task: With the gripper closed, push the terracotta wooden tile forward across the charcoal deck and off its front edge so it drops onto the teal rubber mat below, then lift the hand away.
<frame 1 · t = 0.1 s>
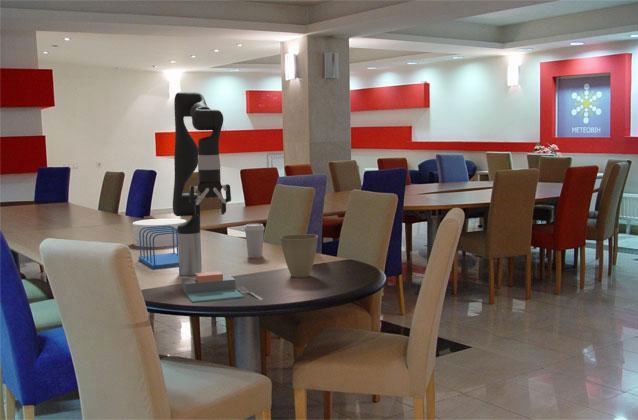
hand: (210, 215, 241), 29 cm above the table, tool pointing down, fingers open, 8 cm apart
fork: (253, 297, 246), on the table
plant pot: (299, 276, 279), on the table
coffee cup: (255, 257, 324), on the table
file sorter: (164, 263, 312), on the table
tile: (209, 276, 254), point 5 cm above the table, touching deck
mat: (214, 296, 245), on the table
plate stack: (160, 243, 370), on the table
deck: (208, 289, 256), on the table
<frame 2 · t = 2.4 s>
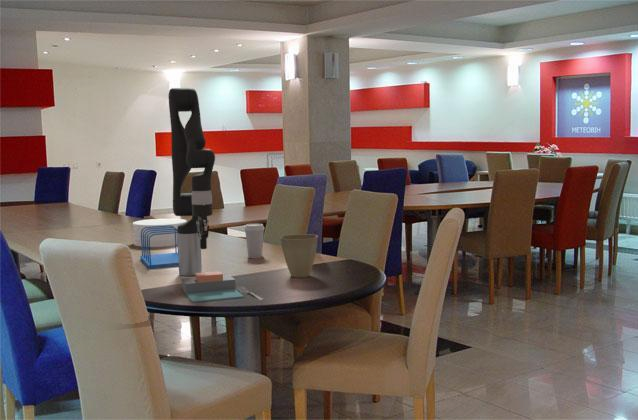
hand: (203, 248, 260), 14 cm above the table, tool pointing down, fingers closed
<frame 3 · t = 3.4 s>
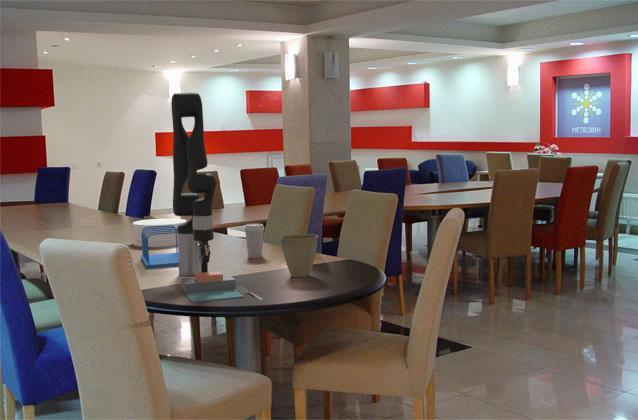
hand: (204, 273, 261), 5 cm above the table, tool pointing down, fingers closed
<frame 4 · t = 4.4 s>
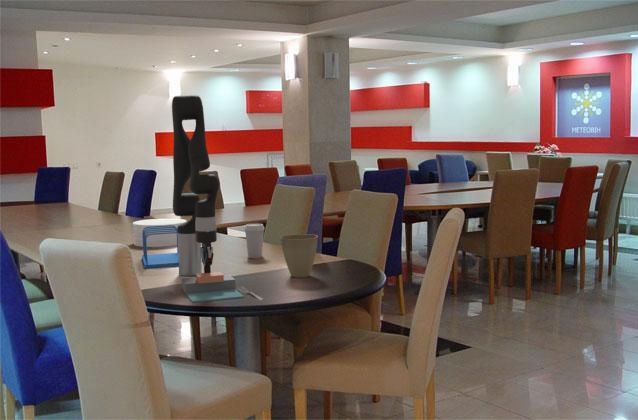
hand: (207, 275, 256), 5 cm above the table, tool pointing down, fingers closed
tile: (209, 277, 252), point 5 cm above the table, touching deck, gripper
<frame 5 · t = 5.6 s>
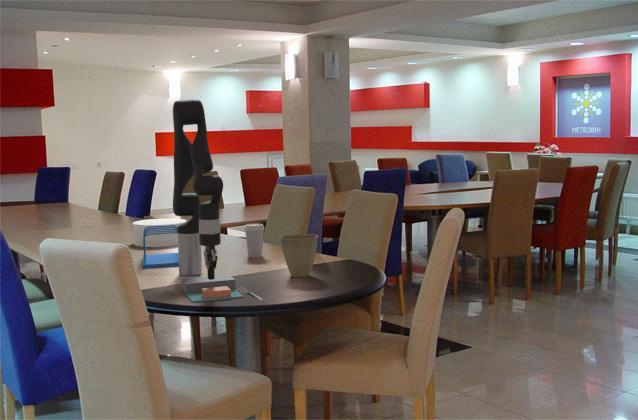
hand: (211, 279, 250), 5 cm above the table, tool pointing down, fingers closed
tile: (216, 292, 244), point 2 cm above the table, tilted 180°, touching mat
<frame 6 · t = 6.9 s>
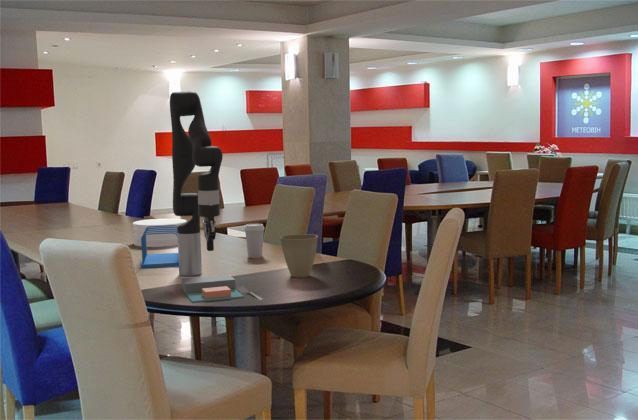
hand: (210, 250, 250), 15 cm above the table, tool pointing down, fingers closed
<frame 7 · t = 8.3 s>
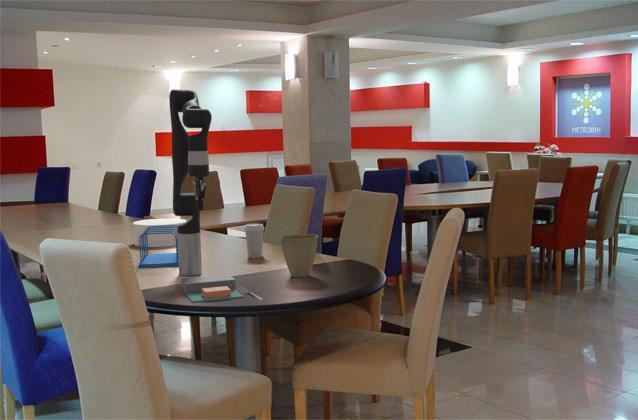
hand: (200, 210, 258), 29 cm above the table, tool pointing down, fingers closed
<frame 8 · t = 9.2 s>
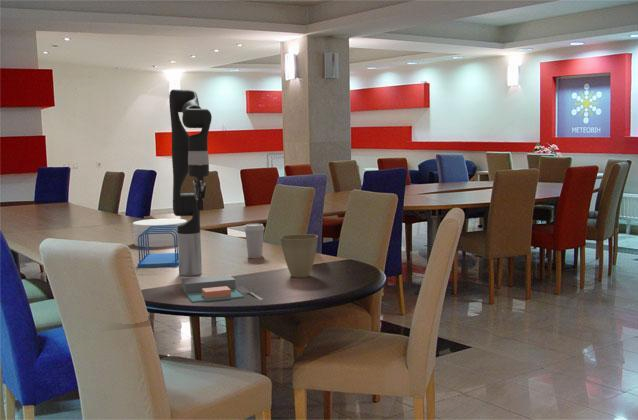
hand: (200, 210, 258), 29 cm above the table, tool pointing down, fingers closed
at the end: tile point 1.7 cm above the table; tile inside the target area (1.3 cm from its centre), point 1.7 cm above the table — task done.
